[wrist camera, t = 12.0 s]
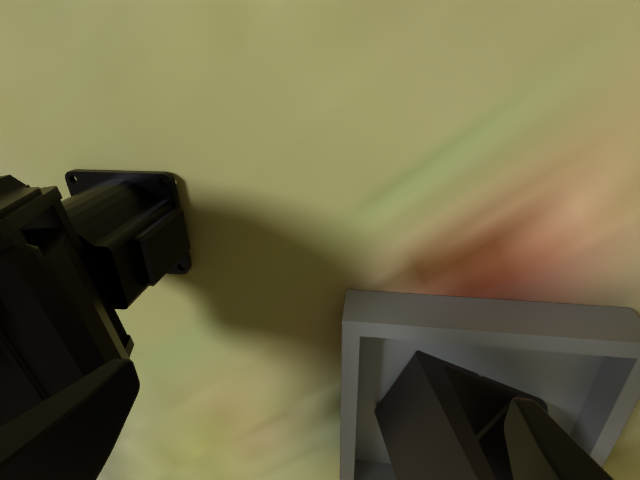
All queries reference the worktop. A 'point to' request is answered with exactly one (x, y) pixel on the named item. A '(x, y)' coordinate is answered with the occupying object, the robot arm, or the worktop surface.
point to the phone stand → (446, 422)
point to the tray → (488, 363)
